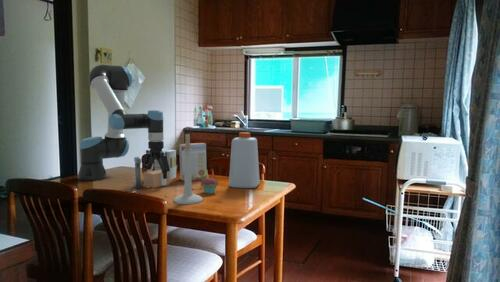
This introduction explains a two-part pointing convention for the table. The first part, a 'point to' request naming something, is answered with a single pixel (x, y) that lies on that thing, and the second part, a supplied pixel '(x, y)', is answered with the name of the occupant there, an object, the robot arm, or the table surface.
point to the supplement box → (171, 161)
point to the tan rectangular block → (154, 179)
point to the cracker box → (194, 161)
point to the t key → (137, 172)
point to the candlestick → (188, 179)
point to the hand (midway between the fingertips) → (156, 183)
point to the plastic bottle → (244, 162)
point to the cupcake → (209, 184)
